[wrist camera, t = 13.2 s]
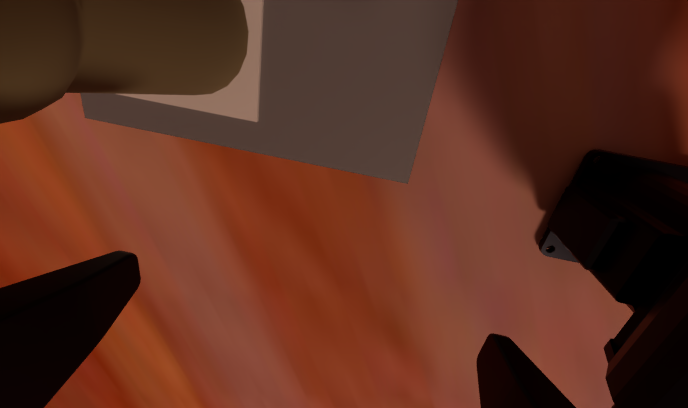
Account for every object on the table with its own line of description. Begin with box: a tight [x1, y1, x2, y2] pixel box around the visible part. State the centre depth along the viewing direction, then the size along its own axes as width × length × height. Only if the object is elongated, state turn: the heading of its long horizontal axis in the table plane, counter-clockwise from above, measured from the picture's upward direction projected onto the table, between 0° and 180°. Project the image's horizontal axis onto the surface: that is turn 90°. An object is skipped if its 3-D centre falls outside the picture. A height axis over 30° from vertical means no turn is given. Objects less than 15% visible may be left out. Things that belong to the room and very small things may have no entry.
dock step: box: [81, 0, 458, 184], centre depth 16 cm, size 18×11×2 cm, turn 81°
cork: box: [0, 0, 249, 123], centre depth 10 cm, size 6×6×11 cm
